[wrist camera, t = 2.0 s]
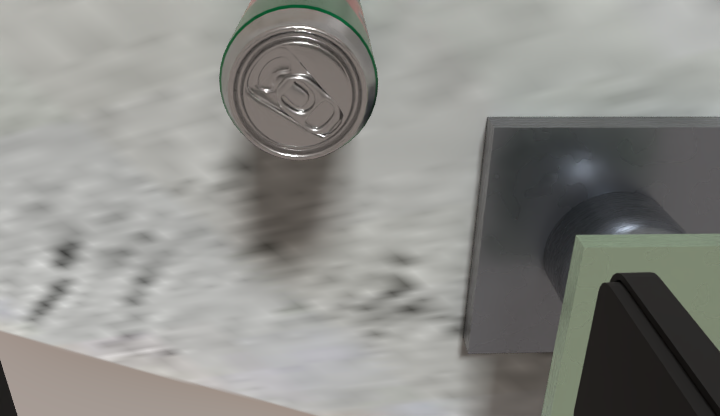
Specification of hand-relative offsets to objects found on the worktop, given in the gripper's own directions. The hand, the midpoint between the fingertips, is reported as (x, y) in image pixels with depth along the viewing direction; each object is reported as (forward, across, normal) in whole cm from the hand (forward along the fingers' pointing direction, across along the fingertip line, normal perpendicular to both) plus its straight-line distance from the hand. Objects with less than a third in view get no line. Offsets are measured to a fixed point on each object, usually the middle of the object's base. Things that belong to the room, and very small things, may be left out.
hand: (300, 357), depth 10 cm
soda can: (+24, 0, 0) cm, 24 cm away
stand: (+24, -16, +12) cm, 30 cm away
